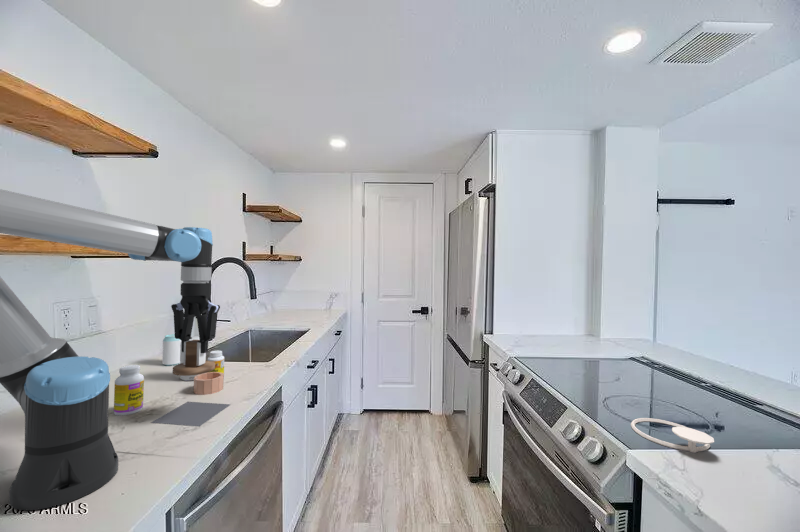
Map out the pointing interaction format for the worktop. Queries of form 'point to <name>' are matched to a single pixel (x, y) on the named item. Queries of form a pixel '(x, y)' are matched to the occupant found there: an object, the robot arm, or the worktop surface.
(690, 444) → the hand towel holder
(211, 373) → the bowl
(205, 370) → the lid
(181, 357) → the supplement can
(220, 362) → the supplement bottle
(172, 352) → the can
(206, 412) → the mat
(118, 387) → the supplement bottle
